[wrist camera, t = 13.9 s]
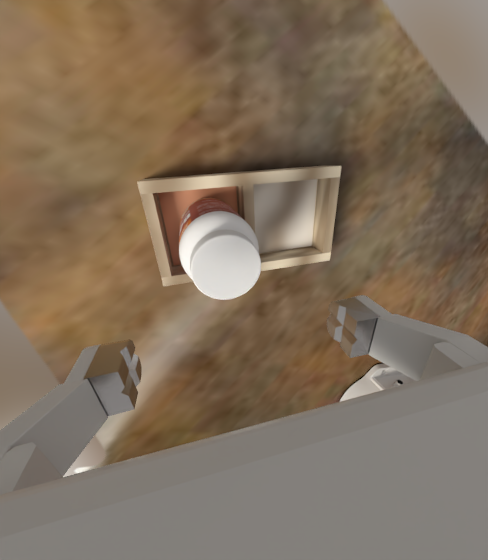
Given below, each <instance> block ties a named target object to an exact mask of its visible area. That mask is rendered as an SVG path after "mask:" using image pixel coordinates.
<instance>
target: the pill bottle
mask: <svg viewBox="0 0 488 560" xmlns="http://www.w3.org/2000/svg"><path fill="white" fill-rule="evenodd" d="M179 256H180V261H181V264H182V266H183V268H184V270H185V272H186V273H187V274H188V276H189V277H190V278H191V279H192V280H193V282H194V283H195V285H196V286H197V288H198V289H199V290H200V291H201V292H202V293H204V294H205V295H207V296H209V297H212V298H215V299H222V300H226V299H233V298H236V297H239V296H241V295H243V294H244V293H246V292H247V291H249V290H250V289H251V288H252V287H253V286H254V284H255V283H256V281H257V280H258V277H259V275H260V271H261V258H260V255H259V246H258V241H257V238H256V235H255V233H254V231H253V230H252V228H251V227H250V225H249V224H248V223H247V222H246V221H245V220H244V219H243V218H242V217H241V216H240V215H239V214H238V213H237V212H236V211H235V210H233V209H232V208H231V207H230V206H229V205H228V204H227V203H225V202H223V201H221V200H219V199H215V198H204V199H200V200H197V201H195V202H194V203H192V204H191V205H190V206H189V207H188V208H187V209H186V210H185V212H184V213H183V215H182V218H181V221H180V234H179Z"/></svg>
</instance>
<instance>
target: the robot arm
mask: <svg viewBox="0 0 488 560" xmlns="http://www.w3.org/2000/svg"><path fill="white" fill-rule="evenodd" d="M329 311H330V313H331V314H330V316H329V317H328V318H327V328H328V331H329V333H330V335H331V336H332V338H333V339H334V340H337V341H339V342H340V347H341V348H342V349H343V350H344V352H345V353H346V354H347V355H348V356H349V357H350V358H351V357H356V356H361V355H366V354H369V355H370V356H372V357H374V358H375V359H377V360H379V361H381V362H383V363H384V364H377V365H375V366H374V367H372V368H371V369H370V370H369V372H368V373H367V374H366V375H365V376H364V377H363V378H361V379H360V380H358V381H357V382H356V383H354V384H353V385H352V386H351V387H350V388H349V389H348V390H347V391H346V392H345V393H344V395H343V396H342V398H341V400H340V402H337V403H334V404H330V405H326V406H323V407H319V408H315V409H312V410H308V411H304V412H301V413H297V414H294V415H290V416H286V417H283V418H279V419H275V420H272V421H268V422H264V423H261V424H257V425H253V426H250V427H246V428H242V429H239V430H235V431H231V432H228V433H224V434H220V435H217V436H213V437H209V438H206V439H202V440H198V441H195V442H191V443H187V444H184V445H180V446H176V447H173V448H169V449H165V450H162V451H158V452H154V453H151V454H147V455H143V456H140V457H136V458H132V459H129V460H125V461H121V462H118V463H114V464H111V465H107V466H103V467H100V468H96V469H92V470H89V471H85V472H81V473H78V474H74V475H71V476H67V477H63V475H64V474H65V473H66V472H67V470H68V469H69V468H70V466H71V465H72V463H73V462H74V461H75V460H76V459H77V457H78V456H79V455H80V453H81V452H82V451H83V449H84V448H85V447H86V445H87V444H88V443H89V442H90V440H91V439H92V438H93V436H94V435H95V434H96V433H97V431H98V430H99V429H100V427H101V426H102V425H103V424H104V422H105V421H106V420H107V418H108V417H107V416H111V415H114V414H118V413H122V412H126V411H129V410H133V409H134V408H135V404H136V399H137V394H138V391H137V389H136V386H137V385H138V384H139V383H140V380H141V363H140V360H139V357H138V356H137V355H135V354H134V351H135V346H134V344H133V341H132V340H124V341H118V342H112V343H106V344H102V345H95V346H90V347H86V348H85V349H83V351H82V352H81V354H80V356H79V358H78V360H77V361H76V363H75V365H74V367H73V368H72V370H71V372H70V374H69V376H68V377H67V379H66V381H65V383H64V384H60V385H58V386H57V387H55V388H54V389H53V390H52V391H50V392H49V393H48V394H47V395H45V396H44V397H42V398H41V399H40V400H39V401H37V402H36V403H35V404H34V405H33V406H31V407H30V408H28V409H27V410H26V411H25V412H23V413H22V414H21V415H19V416H18V417H17V418H16V419H15V420H13V421H12V422H10V423H9V424H8V425H7V426H5V427H4V428H3V429H1V430H0V560H488V347H487V346H485V345H483V344H482V343H480V342H478V341H477V340H475V339H473V338H472V337H470V336H468V335H465V334H462V333H459V332H455V331H452V330H448V329H445V328H442V327H438V326H435V325H431V324H428V323H425V322H421V321H418V320H414V319H411V318H407V317H404V316H401V315H397V314H394V315H392V314H391V313H389V312H388V311H387V310H385V309H384V308H382V307H381V306H380V305H378V304H377V303H375V302H374V301H373V300H371V299H370V298H368V297H367V296H364V295H361V296H356V297H352V298H348V299H343V300H338V301H333V302H331V303H330V305H329Z"/></svg>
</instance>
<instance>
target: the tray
mask: <svg viewBox="0 0 488 560" xmlns="http://www.w3.org/2000/svg"><path fill="white" fill-rule="evenodd" d="M340 174H341V166H311V167H298V168H285V169H272V170H258V171H245V172H232V173H219V174H205V175H192V176H179V177H166V178H152V179H143V180H140V181H138V182H137V183H138V187H139V191H140V195H141V199H142V203H143V207H144V211H145V215H146V219H147V223H148V227H149V231H150V235H151V239H152V243H153V247H154V251H155V254H156V258H157V262H158V266H159V270H160V274H161V278H162V282H163V286H169V285H176V284H182V283H188V282H193V280H192V279H191V278H190V277H189V276H188V274H187V273H186V272H185V270H184V268H183V266H182V264H181V261H180V256H179V234H180V221H181V218H182V215H183V213H184V212H185V210H186V209H187V208H188V207H189V206H190V205H191V204H192V203H194V202H195V201H197V200H200V199H204V198H215V199H219V200H221V201H223V202H225V203H227V204H228V205H229V206H230V207H231V208H232V209H233V210H235V211H236V212H237V213H238V214H239V215H240V216H241V217H242V218H243V219H244V220H245V221H246V222H247V223H248V224H249V225H250V227H251V228H252V230H253V231H254V233H255V235H256V238H257V241H258V246H259V255H260V258H261V271H265V270H271V269H277V268H284V267H290V266H296V265H303V264H309V263H315V262H322V261H328V260H330V255H331V247H332V239H333V231H334V223H335V215H336V207H337V198H338V190H339V182H340Z"/></svg>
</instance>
